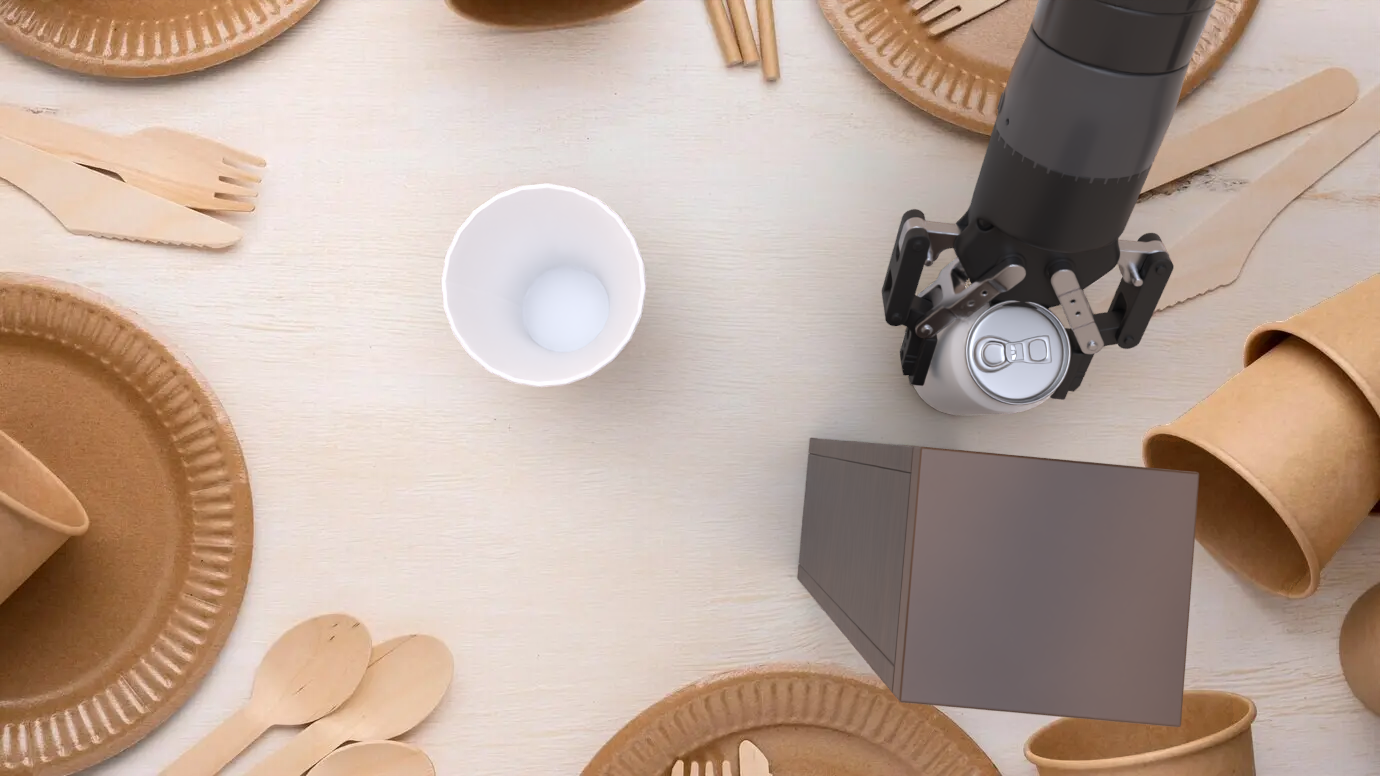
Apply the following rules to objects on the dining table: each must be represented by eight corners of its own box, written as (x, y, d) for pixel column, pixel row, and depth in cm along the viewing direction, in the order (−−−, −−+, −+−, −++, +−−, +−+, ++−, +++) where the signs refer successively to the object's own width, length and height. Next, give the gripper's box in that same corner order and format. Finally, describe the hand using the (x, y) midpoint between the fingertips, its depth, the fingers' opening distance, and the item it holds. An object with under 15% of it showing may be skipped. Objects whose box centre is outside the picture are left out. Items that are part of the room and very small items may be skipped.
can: (901, 319, 68) (951, 296, 56) (1001, 310, 68) (1072, 285, 56) (911, 420, 67) (963, 418, 55) (1011, 410, 67) (1085, 407, 55)
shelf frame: (965, 452, 67) (1184, 471, 39) (953, 593, 67) (1165, 718, 38) (809, 437, 67) (913, 445, 38) (797, 579, 67) (891, 694, 38)
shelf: (1184, 471, 39) (1200, 472, 37) (1165, 718, 38) (1181, 728, 37) (913, 445, 38) (920, 446, 37) (891, 694, 38) (899, 703, 37)
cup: (648, 398, 67) (642, 390, 54) (483, 392, 67) (435, 383, 53) (654, 234, 67) (650, 186, 54) (490, 228, 67) (444, 178, 54)
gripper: (936, 156, 47) (866, 416, 58) (1252, 187, 47) (1122, 440, 58) (918, 78, 53) (857, 330, 64) (1201, 106, 53) (1091, 352, 64)
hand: (984, 382), depth 61 cm, fingers open, 7 cm apart
